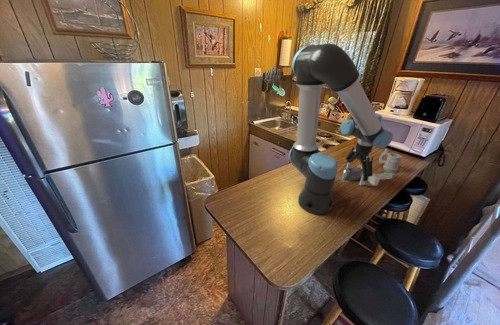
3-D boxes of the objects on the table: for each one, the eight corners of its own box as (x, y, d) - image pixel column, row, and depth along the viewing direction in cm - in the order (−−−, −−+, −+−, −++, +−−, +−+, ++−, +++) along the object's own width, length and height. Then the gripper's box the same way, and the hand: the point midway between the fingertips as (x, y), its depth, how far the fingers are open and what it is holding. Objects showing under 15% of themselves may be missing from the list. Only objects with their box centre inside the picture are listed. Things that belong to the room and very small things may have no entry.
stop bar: (348, 180, 110) (351, 169, 107) (345, 177, 113) (348, 166, 110) (363, 179, 111) (366, 168, 108) (359, 176, 114) (362, 165, 111)
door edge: (374, 185, 106) (376, 179, 104) (355, 170, 120) (357, 165, 118) (377, 185, 106) (379, 179, 105) (358, 170, 120) (360, 164, 118)
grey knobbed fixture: (342, 181, 109) (345, 172, 106) (337, 177, 113) (340, 168, 111) (349, 181, 110) (352, 172, 107) (344, 176, 114) (346, 167, 111)
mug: (393, 173, 118) (400, 155, 112) (373, 165, 127) (379, 148, 121) (399, 170, 121) (407, 153, 115) (380, 162, 130) (386, 146, 124)
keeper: (371, 180, 111) (373, 175, 109) (364, 174, 116) (366, 170, 115) (394, 178, 113) (396, 174, 111) (386, 173, 118) (388, 169, 117)
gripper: (389, 153, 92) (375, 190, 102) (357, 135, 113) (347, 167, 124) (375, 154, 91) (362, 191, 101) (344, 135, 113) (336, 167, 123)
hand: (354, 178), depth 112 cm, fingers open, 13 cm apart
